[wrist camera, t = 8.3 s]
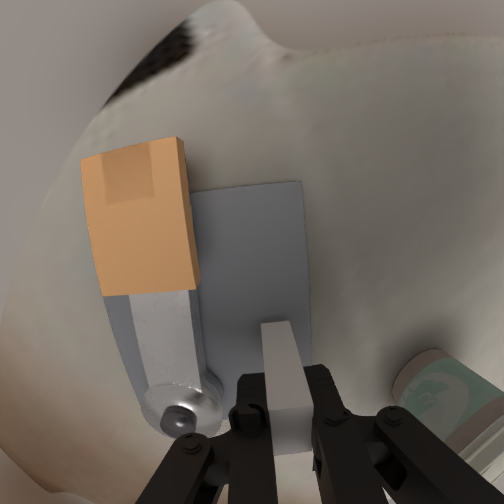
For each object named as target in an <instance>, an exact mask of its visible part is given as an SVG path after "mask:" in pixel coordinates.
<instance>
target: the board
mask: <svg viewBox="0 0 504 504" xmlns="http://www.w3.org/2000/svg"><path fill="white" fill-rule="evenodd" d="M189 199H190V206H192V218H193V229H194V237H195V243H196V250H197V257H198V263H199V270H200V276H201V280H200V282H199V284H198V286H197V288H198V299H199V309H200V319H201V328H202V337H203V346H204V354H205V362H206V369H207V371H208V372H210V373H211V374H212V375H214V376H215V377H216V378H217V380H218V381H219V382H220V384H221V386H222V388H223V391H224V402H223V412H222V419H229V417H228V414H229V411H230V410H231V409H232V408H233V407H234V406H235V405H236V397H237V396H236V395H237V381H238V380H239V378H240V377H241V375H242V374H250V373H261V372H265V370H264V358H263V346H262V334H261V324H262V323H272V322H281V321H289V322H290V325H291V328H292V332H293V335H294V339H295V342H296V345H297V349H298V352H299V356H300V359H301V363H302V366H303V367H305V366H311V319H310V293H309V273H308V257H307V242H306V228H305V216H304V205H303V194H302V184H301V181H293V182H281V183H270V184H260V185H250V186H241V187H233V188H224V189H217V190H209V191H201V192H194V193H189ZM103 299H104V303H105V306H106V310H107V313H108V317H109V320H110V324H111V327H112V330H113V333H114V336H115V340H116V343H117V346H118V349H119V351H120V354H121V357H122V360H123V363H124V365H125V368H126V371H127V373H128V376H129V379H130V381H131V384H132V386H133V389H134V391H135V393H136V396H137V398H138V401H139V403H140V405H141V402H142V399H143V397H144V395H145V393H146V390H147V388H148V386H149V385H148V381H147V377H146V373H145V370H144V366H143V362H142V358H141V353H140V349H139V345H138V340H137V336H136V331H135V326H134V321H133V316H132V311H131V305H130V299H129V295H117V296H103Z"/></svg>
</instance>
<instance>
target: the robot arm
mask: <svg viewBox="0 0 504 504" xmlns="http://www.w3.org/2000/svg"><path fill="white" fill-rule="evenodd" d="M261 334H262V346H263V358H264V370H265V372H261V373H250V374H242V375H241V377H240V378H239V380H238V381H237V395H236V396H237V397H236V405H235V406H234V407H233V408H232V409H231V410H230V411H229V414H228V417H229V421H230V426H231V429H230V430H229V431H228V432H226V433H224V434H222V435H219V436H216V437H212V438H207V437H206V436H205V435H203V434H200V433H187V434H183V435H182V436H180V437H178V438H177V439H176V440H175V441H174V443H173V444H172V446H171V447H170V449H169V451H168V452H167V454H166V456H165V457H164V459H163V460H162V462H161V464H160V465H159V467H158V468H157V470H156V472H155V473H154V475H153V476H152V478H151V479H150V481H149V483H148V484H147V486H146V487H145V489H144V490H143V492H142V494H141V495H140V497H139V498H138V500H137V501H136V503H135V504H217V501H218V499H219V496H220V494H221V492H222V489H223V487H224V485H225V484H229V489H228V504H278V496H277V485H276V474H275V464H274V456H276V455H285V454H293V453H301V452H307V451H312V448H313V453H314V458H313V471H315V472H316V477H317V481H318V486H319V491H320V496H321V501H322V504H389V503H388V501H387V498H386V495H385V493H384V490H383V488H384V489H385V490H386V492H387V493H388V494H389V495H390V497H391V498H392V499H393V500H394V502H395V503H396V504H504V495H503V494H502V493H501V492H500V491H499V490H497V489H496V488H495V487H494V486H493V485H492V484H491V483H489V482H488V481H487V480H486V479H485V478H484V477H482V476H481V475H480V474H479V473H478V472H477V471H476V470H474V469H473V468H472V467H471V466H470V465H469V464H468V463H466V462H465V461H464V460H463V459H462V458H461V457H460V456H459V455H457V454H456V453H455V452H454V451H453V450H452V449H451V448H449V447H448V446H447V445H446V444H445V443H444V442H443V441H442V440H440V439H439V438H438V437H437V436H436V435H435V434H434V433H433V432H431V431H430V430H429V429H428V428H427V427H426V426H425V425H424V424H423V423H421V422H420V421H419V420H418V419H417V418H416V417H415V416H414V415H412V414H411V413H410V412H409V411H408V410H406V409H405V408H403V407H400V406H388V407H385V408H383V409H381V410H380V411H379V412H378V413H377V415H376V416H358V415H354V414H352V413H351V412H350V410H348V409H346V408H345V407H344V405H343V403H342V400H341V398H340V395H339V393H338V390H337V388H336V386H335V384H334V381H333V379H332V376H331V374H330V371H329V369H327V368H326V367H325V366H324V365H322V364H319V365H312V366H305V367H303V366H302V363H301V359H300V356H299V352H298V349H297V345H296V342H295V339H294V335H293V332H292V328H291V325H290V322H289V321H281V322H272V323H262V324H261ZM382 487H383V488H382Z"/></svg>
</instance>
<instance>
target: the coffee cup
mask: <svg viewBox="0 0 504 504" xmlns="http://www.w3.org/2000/svg"><path fill="white" fill-rule="evenodd" d="M392 396H393V398H394V401H395V403H396V405H397V406H400V407H403V408H405V409H406V410H408V411H409V412H410V413H411V414H412V415H414V416H415V417H416V418H417V419H418V420H419V421H420V422H421V423H423V424H424V425H425V426H426V427H427V428H428V429H429V430H430V431H431V432H433V433H434V434H435V435H436V436H437V437H438V438H439V439H440V440H442V441H443V442H444V443H445V444H446V445H447V446H448V447H449V448H451V449H452V450H453V451H454V452H455V453H456V454H457V455H459V456H460V457H461V458H462V459H463V460H464V461H465V462H466V463H468V464H469V465H470V466H471V467H472V468H473V469H474V470H476V471H477V472H478V473H479V474H480V475H481V476H482V477H484V478H485V479H486V480H487V481H488V482H489V483H491V484H493V483H494V482H495V481H496V480H497V479H499V478H500V477H501V476H502V475H503V474H504V392H503V391H501V390H500V389H498V388H497V387H495V386H494V385H493V384H491V383H490V382H488V381H487V380H485V379H484V378H482V377H481V376H479V375H478V374H477V373H475V372H474V371H472V370H471V369H469V368H468V367H466V366H465V365H463V364H462V363H460V362H459V361H457V360H456V359H454V358H453V357H451V356H450V355H448V354H447V353H445V352H444V351H442V350H439V349H431V350H427V351H425V352H422V353H420V354H419V355H417V356H416V357H414V358H413V359H412V360H410V361H409V362H408V363H407V364H406V365H405V366H404V367H403V369H402V370H401V371H400V373H399V374H398V376H397V377H396V379H395V381H394V384H393V388H392Z"/></svg>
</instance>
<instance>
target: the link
mask: <svg viewBox="0 0 504 504" xmlns="http://www.w3.org/2000/svg"><path fill="white" fill-rule="evenodd" d="M190 207H191V214H192V206H190ZM192 222H193V218H192ZM129 299H130V305H131V311H132V316H133V321H134V326H135V331H136V336H137V340H138V345H139V349H140V353H141V358H142V362H143V366H144V370H145V373H146V377H147V381H148V385H149V386H148V388H147V390H146V393H145V395H144V397H143V399H142V402H141V410H142V414H143V416H144V418H145V419H146V421H147V422H148V423H149V424H150V425H151V426H152V427H153V428H154V429H155V430H157V431H158V432H160V433H162V434H163V435H165V436H168V437H170V438H173V439H177V438H178V437H180V436H182V435H183V434H187V433H200V434H203V435H205V436H206V437H207V438H210V437H212V436H213V435H215V434H216V433H217V432H218V431H219V429H220V427H221V423H222V412H223V402H224V391H223V388H222V386H221V384H220V382H219V381H218V380H217V378H216V377H215V376H214V375H212V374H211V373H210V372H208V371H207V369H206V362H205V354H204V346H203V337H202V328H201V319H200V309H199V299H198V288H196V289H193V290H182V291H170V292H158V293H145V294H131V295H129Z"/></svg>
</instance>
